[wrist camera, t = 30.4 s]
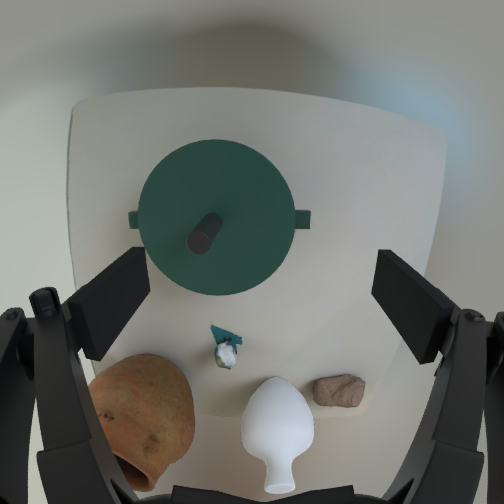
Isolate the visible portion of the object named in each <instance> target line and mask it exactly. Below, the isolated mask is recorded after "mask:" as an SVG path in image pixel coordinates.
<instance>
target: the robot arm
mask: <svg viewBox="0 0 504 504" xmlns="http://www.w3.org/2000/svg"><path fill="white" fill-rule="evenodd" d="M149 292H150V284H149V278H148V271H147V264H146V256H145V248H144V247H132V248H130V249H129V250H128V251H127V252H125V253H124V254H123V255H122V256H120V257H119V258H118V259H117V260H115V261H114V262H113V263H112V264H110V265H109V266H108V267H107V268H106V269H104V270H103V271H102V272H101V273H99V274H98V275H97V276H96V277H95V278H94V279H92V280H91V281H90V282H89V283H88V284H86V285H84V286H82V287H81V288H80V289H79V290H77V292H75V293H74V294H73V295H72V296H71V297H69V298H68V299H67V300H66V301H65V302H64V303H63V304H60V301H59V297H58V293H57V290H56V288H54V287H45V288H41V289H38V290H36V291H34V292H33V293H32V294H31V295H30V296H29V299H30V303H31V306H32V309H33V312H34V315H35V318H26V317H25V314H24V311H23V309H22V308H10V309H7V310H6V312H4V313H3V314H2V315H1V316H0V504H28V456H29V443H30V433H31V425H32V417H33V410H34V404H35V399H36V400H37V409H38V417H39V423H40V430H41V435H42V441H43V446H44V450H43V451H39V452H37V464H38V469H39V473H40V477H41V480H42V485H43V488H44V491H45V495H46V498H47V502H48V504H473V501H474V498H475V494H476V491H477V488H478V484H479V480H480V476H481V472H482V468H483V464H484V454H483V452H479V451H477V444H478V439H479V434H480V428H481V422H482V414H483V409H484V417H485V425H486V436H487V451H488V490H487V504H504V312H498V313H497V315H496V318H495V320H494V322H488V321H486V320H485V318H484V316H483V315H482V314H481V313H479V312H477V311H475V310H472V309H462V310H461V309H460V308H459V307H458V306H457V305H456V304H455V303H454V302H453V301H452V300H450V299H449V298H448V297H447V296H446V295H445V294H444V293H443V292H442V291H440V289H438V288H436V287H434V286H433V285H432V284H430V283H429V282H428V281H427V280H426V279H425V278H424V277H423V276H421V275H420V274H419V273H418V272H417V271H415V270H414V269H413V268H412V267H411V266H410V265H408V264H407V263H406V262H405V261H403V260H402V259H401V258H400V257H399V256H397V255H396V254H395V253H394V252H392V251H391V250H380V249H379V250H378V257H377V263H376V269H375V275H374V281H373V287H372V292H371V294H372V295H373V297H374V298H375V299H376V301H377V302H378V303H379V305H380V306H381V308H382V309H383V310H384V312H385V313H386V315H387V316H388V318H389V319H390V320H391V322H392V323H393V325H394V326H395V328H396V329H397V331H398V332H399V333H400V335H401V336H402V338H403V339H404V341H405V342H406V344H407V345H408V347H409V348H410V350H411V351H412V353H413V354H414V356H415V357H416V359H417V361H418V362H419V364H420V365H421V364H425V363H431V362H434V360H435V358H436V356H437V353H438V351H440V352H441V354H442V355H443V357H442V359H441V361H440V363H439V366H438V368H437V370H436V372H435V374H434V376H436V378H435V382H434V385H433V388H432V391H431V394H430V397H429V400H428V404H427V406H426V409H425V412H424V415H423V417H422V420H421V422H420V425H419V428H418V430H417V432H416V435H415V437H414V440H413V442H412V444H411V447H410V449H409V451H408V453H407V455H406V457H405V459H404V461H403V463H402V465H401V467H400V469H399V471H398V473H397V475H396V477H395V479H394V481H393V483H392V484H391V486H390V487H389V489H388V490H387V492H386V493H385V494H384V495H383V497H382V498H378V497H374V496H370V495H363V494H354V489H353V485H348V486H342V487H336V488H330V489H321V490H312V491H308V492H304V493H301V494H297V495H294V496H290V497H286V498H283V499H278V500H274V501H270V502H258V501H254V500H249V499H245V498H241V497H237V496H233V495H230V494H226V493H223V492H219V491H214V490H204V489H196V488H189V487H183V486H177V485H174V486H173V490H172V494H163V495H155V496H151V497H146V498H143V499H140V500H139V498H138V497H137V495H136V494H135V493H134V491H133V490H132V488H131V487H130V485H129V484H128V482H127V480H126V478H125V476H124V474H123V472H122V470H121V468H120V466H119V464H118V462H117V460H116V458H115V456H114V454H113V452H112V449H111V447H110V445H109V442H108V440H107V438H106V435H105V433H104V430H103V428H102V425H101V423H100V420H99V418H98V415H97V412H96V409H95V407H94V404H93V401H92V398H91V395H90V392H89V388H88V386H87V382H86V379H85V375H84V372H83V368H82V364H81V361H80V358H79V355H78V352H79V350H80V349H81V348H82V349H83V352H84V354H85V357H86V358H87V359H91V360H96V361H101V360H102V358H103V357H104V355H105V354H106V352H107V351H108V350H109V348H110V347H111V345H112V344H113V342H114V341H115V339H116V338H117V337H118V335H119V334H120V332H121V331H122V329H123V328H124V327H125V325H126V324H127V322H128V321H129V320H130V318H131V317H132V316H133V314H134V313H135V311H136V310H137V309H138V307H139V306H140V305H141V303H142V302H143V301H144V299H145V298H146V296H147V295H148V294H149Z"/></svg>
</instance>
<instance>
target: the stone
mask: <svg viewBox="0 0 504 504" xmlns="http://www.w3.org/2000/svg"><path fill="white" fill-rule="evenodd" d="M365 384H366V383H365V381H363V380H362V379H361V378H359V377H355V376H352V375H343V376H339V377H327V378H324V379H323V378H321V379H319V380H317V381H316V382H315V384H314V388H313V393H314V394H313V395H314V398H313V400H314V402H315V403H317V404H318V405H320V406H331V407H332V406H340V407H346V408H349V407H357V406H358V405H359V403H360V402H361V400H362V397H363V393H364V387H365Z"/></svg>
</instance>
